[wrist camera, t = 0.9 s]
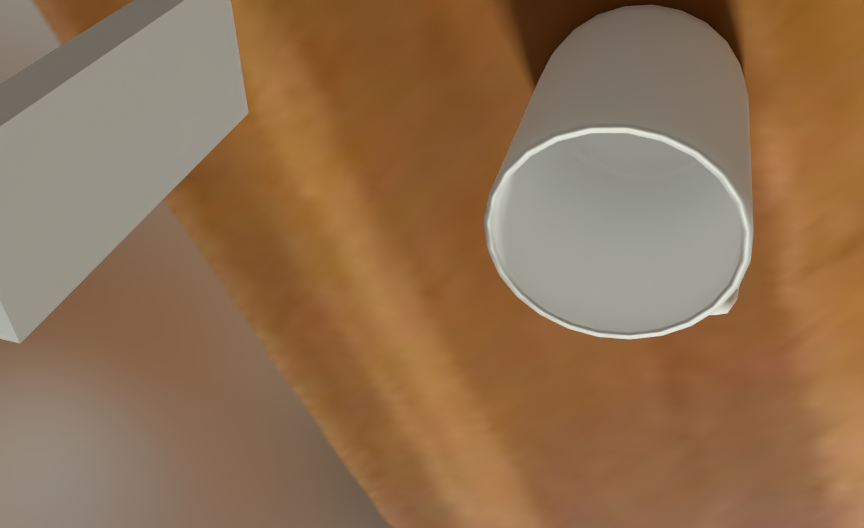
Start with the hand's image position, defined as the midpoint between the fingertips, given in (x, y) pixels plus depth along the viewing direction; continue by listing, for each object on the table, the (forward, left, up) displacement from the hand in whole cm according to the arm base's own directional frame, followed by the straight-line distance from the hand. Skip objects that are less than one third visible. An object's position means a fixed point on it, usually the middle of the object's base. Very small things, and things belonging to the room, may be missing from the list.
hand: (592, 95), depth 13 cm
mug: (+12, +2, -23) cm, 26 cm away
